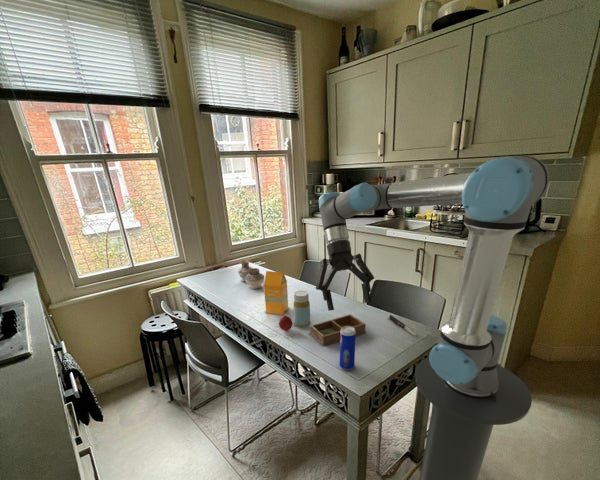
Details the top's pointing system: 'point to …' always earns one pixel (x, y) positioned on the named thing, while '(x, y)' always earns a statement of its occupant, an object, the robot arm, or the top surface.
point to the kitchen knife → (401, 324)
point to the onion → (285, 323)
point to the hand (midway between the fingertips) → (350, 306)
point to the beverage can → (347, 347)
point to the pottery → (250, 275)
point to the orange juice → (275, 292)
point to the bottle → (301, 309)
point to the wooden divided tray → (335, 329)
